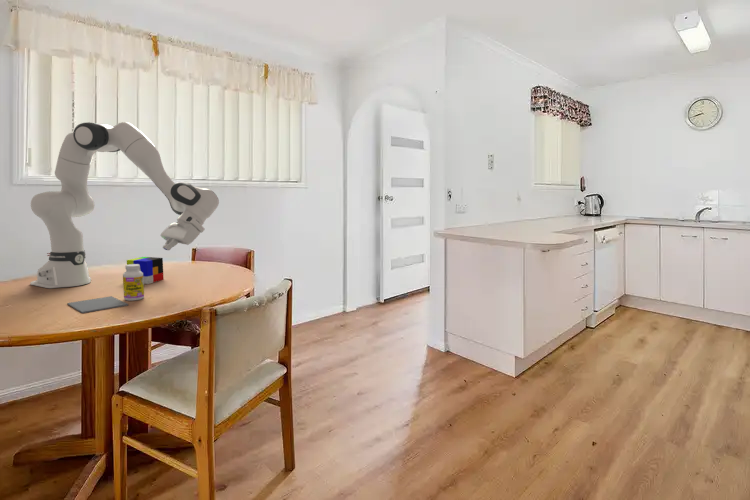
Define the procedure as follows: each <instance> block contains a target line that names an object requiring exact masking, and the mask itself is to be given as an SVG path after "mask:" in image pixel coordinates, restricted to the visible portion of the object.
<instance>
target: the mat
mask: <svg viewBox="0 0 750 500" xmlns="http://www.w3.org/2000/svg"><path fill="white" fill-rule="evenodd" d="M67 305H68V306H70V307H71V308H72V309H74V310H76V311H78V312H79V313H81V314H86V313H93V312H96V311H98V312H99V311H104V310H108V309H114V308H121V307H122V308H123V307H127V306H129V303H127V302H125V301H123V300H120V299H118V298H116V297H114V296H112V295H110V296H104V297H99V298H92V299H86V300H77V301H73V302H72V301H71V302H67Z"/></svg>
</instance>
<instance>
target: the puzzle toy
mask: <svg viewBox="0 0 750 500" xmlns="http://www.w3.org/2000/svg"><path fill="white" fill-rule="evenodd" d="M129 264H139V265H140V269H139V271H141V272H142V273H143V281H144V285H149V284H153V283H156V281H157V282H159V281H163V280H164V278H165V277H164V261H163V257H154V256H153V257H151V256H141V257H136V258H130V259H126V265H129Z"/></svg>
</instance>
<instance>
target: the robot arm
mask: <svg viewBox="0 0 750 500" xmlns="http://www.w3.org/2000/svg"><path fill="white" fill-rule="evenodd" d="M97 152H100V153H106V152H107V153H117V152H122V153H123V155H125V157H127V159H128V160H129V161H130V162H132V163H133V165H135V166H136V167H137V168H138V169H139V170H141V172H142V173H143V174H144V175H146V176H147V177H148V178H149V179H150V180H151V181H152V183H153V184H154V185H155V186H156V187H157V189H159V191H161V193H162V194H163V195H164V196H165V197H166V199H167V200H168V202H169V205H170V209H171V210H172V211H173V212H174V213H175V214H177V215H179V216H178V217H177V218H176V222H172V223H170V224H169V225H168V226H167V227H166V228H165V229H164V230H163V231H162V232H161V233H160V237H161V238H162V239H163V240H165V244H164V245H162V249H163V250H165V251H170V250H171V249H172V248H173V247H176V246H177V245H178V244H181V245H187V246H188V245H190V244H192V243H193V242H194V241H195V240H196V239H197V238H198V236H200V234H201V233H203V232H204V231H205V227H204V226H203V225H204V224H205V221H206V220H208V218H210V217H211V216H212V215H213V214H214V213H215V211H216V209H217V208H218V206H219V203H220V200H219V197H218V196H217V194H216V193H215V192H214V191H213V190H211V188H203V187H202V188H201V187H199V186H195V185H193V184H191V183H189V182H187V181H179V182H176V183H175V182H174V180H172V178H171V177H170V175H168V173H167V172H166V170H165V168H164V166H163V162H162V159H161V154H160V153H159V150H158V149H157V147H156V146H155V144H154V143H153V141H151V139H150V138H149V137H148V136H146V134H144V133H143V132H142V131H141V130H139V128H137V127H136V126H135V125H133V124H132V123H130V122H127V121H122V122H121V121H120V122H118V123H116V124H115V125H114V126H113V125H109V124H105V123H94V122H90V121H89V122H81V123H79V124H78V125H76V126H75V128H74V129H73V132H70V133H68V134H66V136H65V137H64V140H63V141H62V144H61V146H60V149H59V151H58V156H57V162H56V165H55V169H54V176H55V177H56V179H57V180H59V182H60V184H61V189H60V190H59V191H57V190H56V191H54V190H53V191H45V192H39V193H37V194H35V195H34V196H33V197H32V198H31V200H30V208H31V211H32V214H34V215H35V216H36V217H38V218H40V220H42V221H43V223H44V225H45V226H46V228H47V231H48V234H49V239H50V247H51V251H50V252H47V253H46V254H47V255H46V256H47V257H48V261H47V262H46V263H44V264H43V265H42V266H41V267H40V268H39V269H37V272H36V273H37V274H36V278H37V279H36V280H32V281H30V285H31V286H36V287H41V288H46V289H57V288H69V287H79V286H82V285H87V284H90V283H91V280H92V277H90V273H89V269H88V264H87V262H86V260H85V259H86V257H87V256H86V250H85V249H84V239H83V238H84V236H83V232H82V230H81V229H79V228H78V227H76V226H75V224H74V221H73V219H72V218H82V217H83V216H84V217H85V216H87V215H90V214H92V212H93V211H94V209H95V201H94V199H93V197H92V196H91V195H90V193H89V188H88V178H89V174H90V169H91V166H92V165H91V164H92V160H93V157H94V154H95V153H97Z"/></svg>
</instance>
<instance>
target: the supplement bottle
mask: <svg viewBox="0 0 750 500" xmlns="http://www.w3.org/2000/svg"><path fill="white" fill-rule="evenodd" d="M124 268H125V272H123V274H122V287H123V289H122V290H123V299H124V300H125V301H129V302H131V301H132V302H134V301H140V300H143V299H144V298H145V286H144V285H145V284H144V281H143V273H142V272H141V271H139V269H140V265H139V264H129V265H127V264H125V266H124Z"/></svg>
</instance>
